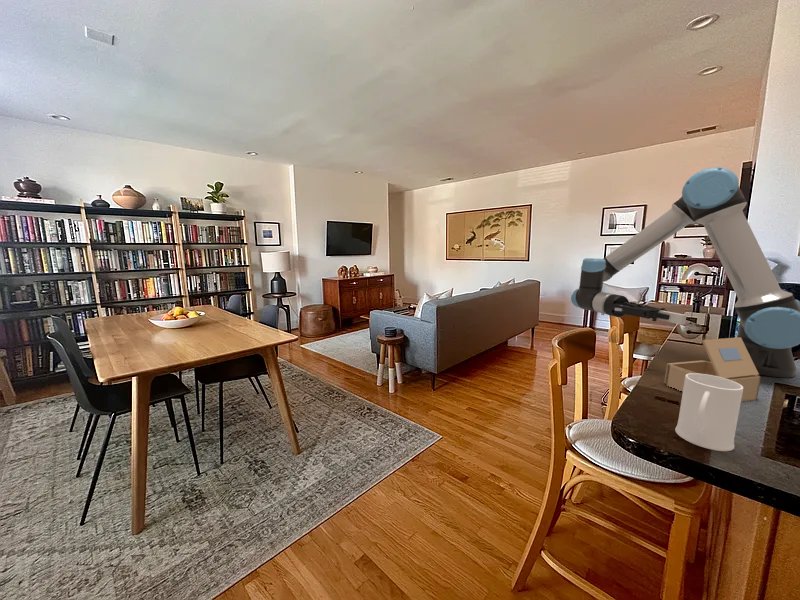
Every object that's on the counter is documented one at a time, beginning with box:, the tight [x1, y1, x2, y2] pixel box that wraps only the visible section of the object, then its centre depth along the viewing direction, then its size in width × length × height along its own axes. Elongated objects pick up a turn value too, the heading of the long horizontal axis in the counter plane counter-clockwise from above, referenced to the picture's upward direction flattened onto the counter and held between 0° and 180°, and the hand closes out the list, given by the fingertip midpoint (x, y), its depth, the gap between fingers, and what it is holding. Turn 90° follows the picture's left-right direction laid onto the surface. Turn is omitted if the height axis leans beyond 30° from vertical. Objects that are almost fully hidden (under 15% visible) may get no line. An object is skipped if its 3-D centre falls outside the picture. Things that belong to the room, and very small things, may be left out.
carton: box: [663, 359, 762, 402], centre depth 85 cm, size 15×13×6 cm
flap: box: [701, 337, 760, 378], centre depth 81 cm, size 13×1×10 cm, turn 104°
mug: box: [674, 373, 743, 452], centre depth 62 cm, size 12×8×12 cm
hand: (683, 319), depth 91 cm, fingers closed
